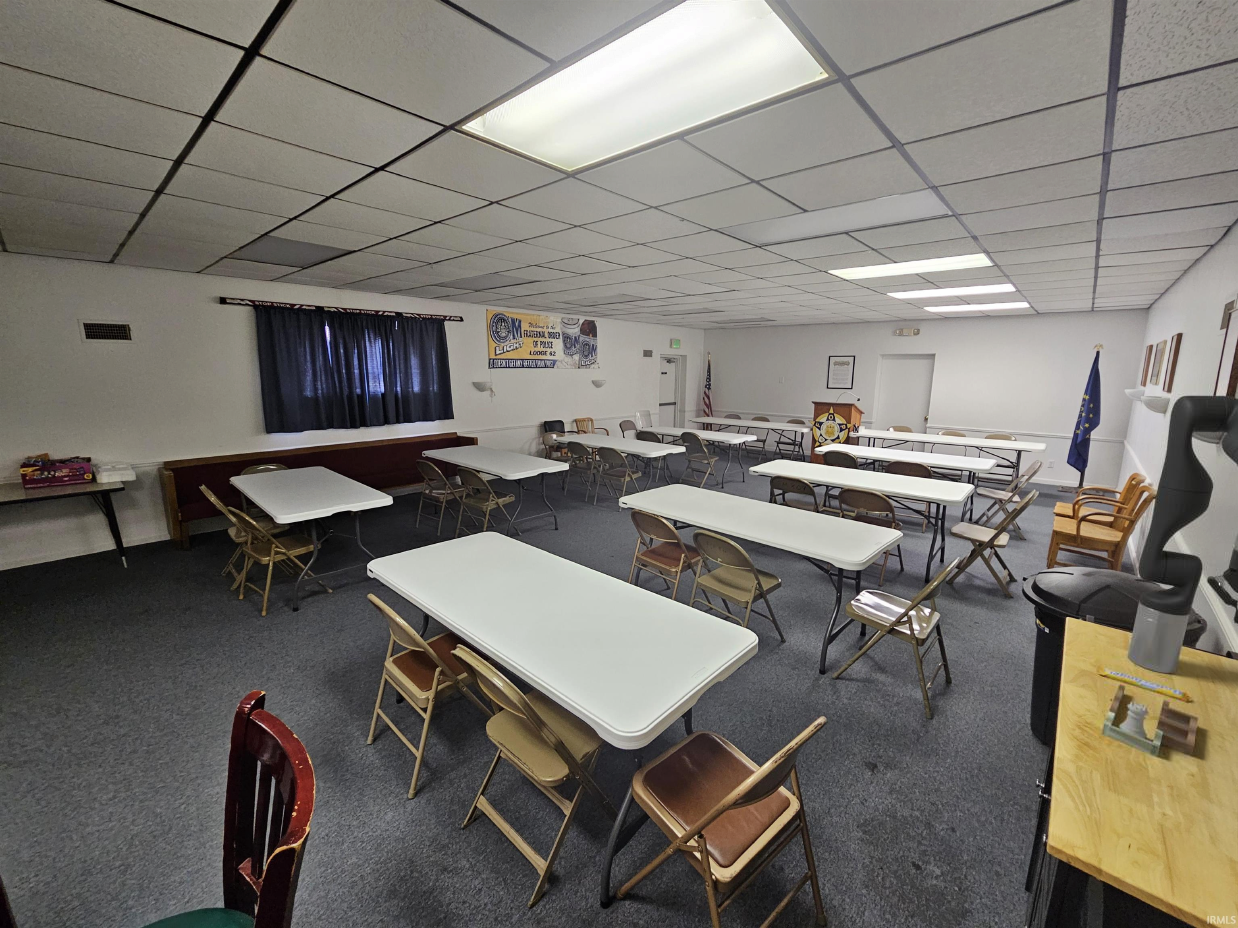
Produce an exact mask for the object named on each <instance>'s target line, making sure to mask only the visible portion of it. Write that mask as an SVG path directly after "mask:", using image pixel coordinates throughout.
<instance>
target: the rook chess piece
mask: <svg viewBox="0 0 1238 928" xmlns="http://www.w3.org/2000/svg"><path fill="white" fill-rule="evenodd" d="M1127 708H1128V709H1129V710H1128V711H1127V717H1126V719H1125V720H1124V721H1123V722H1122V723H1120V724H1119V726H1118V728H1119V729H1121V730H1124V731H1126V732H1129V733H1131V734H1134V735H1136V736H1139V737H1141V738H1144V739H1146V740H1148V739H1147V736H1148V734H1147V733H1146V730H1145V729H1144V728H1145V727H1144V722H1145V720H1146V719H1147V718H1146V716H1147V715H1149V713H1150V712H1149V711H1148V707H1147V706H1145V705H1144V704H1142V703H1140V704H1139V702H1138V701H1137V702H1136V701H1130V703H1128V704H1127Z"/></svg>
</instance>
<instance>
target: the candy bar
mask: <svg viewBox="0 0 1238 928" xmlns="http://www.w3.org/2000/svg"><path fill="white" fill-rule="evenodd" d="M1096 673H1097V674H1098V675H1100V676H1101V675H1102V676H1104V677H1106V678H1108V679H1111V680H1114V681H1116V682H1119V683H1124V684H1127V685H1130V686H1133V687H1136V688H1139V689H1143V690H1147V691H1150V692H1152V693H1156V694H1159V695H1162V696H1164V697H1165V696H1166V697H1168V698H1172V699H1175V700H1178V701H1182V702H1185V703H1186V702H1187V703H1188V702H1190V701H1192V699H1191V697H1190V696H1189V693H1188V691H1181V690H1180V691H1179V690H1177V689H1174V688H1171V687H1167V686H1163V685H1160V684H1158V683H1153V682H1150V681H1147V680H1143V679H1141V678H1137V677H1134V676H1132V675H1128V674H1125V673H1122V672H1119V671H1116V670H1113V669H1112V670H1111V669H1109V668H1103V667H1101V666H1100V665H1097V669H1096Z"/></svg>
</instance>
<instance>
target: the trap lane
mask: <svg viewBox="0 0 1238 928" xmlns="http://www.w3.org/2000/svg"><path fill="white" fill-rule="evenodd" d="M1125 689H1126V686H1125V685H1123V684H1119V685H1118V688H1117V690H1116V693H1115V696H1114V698H1113V700H1112V703H1111V706H1110V708H1109V710H1108V713H1107V715H1106V718H1105V720H1104V723H1103V726H1102V730H1101V735H1104V736H1106V737H1108V738H1111V739H1114V740H1115V741H1118V742H1119V743H1123V744H1126V745H1127V746H1130V747H1132V748H1134V749H1137V750H1140V751H1142V752H1144V753H1147V754H1149V755H1151V756H1153V757H1156V758H1158V755H1159V751H1160V747H1161V745H1163V746H1164V747H1168V748H1170V749H1171V750H1175V751H1177V752H1179V753H1183V754H1185V755H1187V756H1189V757H1192V756H1193V752H1194V748H1195V743H1196V742H1195V740H1196V734H1197V727H1198V720H1199V718H1198V717H1197V716H1195V715H1191V714H1188V713H1185V712H1182V711H1180V710H1177V709H1174V708H1172V707H1170V704H1171V702H1170V701H1168V700H1166V699H1163V701H1162V706H1161V707H1160V709H1161V710H1160V714H1159V717H1158V721H1157V725H1156V730H1155V733H1154V736H1153V741H1151V740H1150V739H1149V740H1148V739H1147V738H1146V739H1147V740H1146V739H1144V738H1141V737H1139V736H1136V735H1134V734H1131V733H1129V732H1126V731H1124V730H1121V729H1119V728H1120V727H1116V726H1115V725H1113V724H1114V721H1115V718H1116V716H1117V713H1118V710H1119V708H1120V706H1121V703H1122V699H1123V697H1124V693H1125Z"/></svg>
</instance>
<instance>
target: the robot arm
mask: <svg viewBox="0 0 1238 928" xmlns="http://www.w3.org/2000/svg"><path fill="white" fill-rule="evenodd" d="M1194 432H1195V433H1196V432H1197V433H1198V432H1199V433H1226V434H1225V435H1224V437H1223V438H1222V441H1221V449H1222V450H1223V452H1224V453H1225V455H1226V456H1227V457H1229V459H1231V460H1232V461H1233V462H1234V463H1235V464H1236V465H1237V467H1238V397H1234V396H1229V395H1183V396H1181V397H1179V398H1178V399H1177V400H1176V401H1175V402H1174V404H1173V406H1172V409H1171V411H1170V418H1169V424H1168V436H1167V445H1166V452H1165V457H1164V462H1163V466H1162V470H1161V474H1160V478H1159V482H1158V486H1157V490H1156V495H1155V500H1154V504H1153V505H1154V507H1153V512H1152V518H1151V523H1150V527H1149V529H1148V533H1147V537H1146V539H1145V543H1144V545H1143V548H1142V549H1143V550H1142V553H1141V555H1140V559H1139V563H1138V575H1139V577H1140V579H1142V580H1143V581H1146V582H1149V583H1150V582H1151V583H1156V584H1160V585H1166V586H1171V587H1170V588H1166V589H1161V590H1160V589H1159V590H1158V589H1157V590H1146V591H1143V592H1142V593H1141V594H1140V596H1139V601H1138V606H1137V610H1136V615H1135V620H1134V624H1133V630H1132V634H1131V638H1130V641H1129V642H1130V643H1129V647H1128V653H1127V659H1129V661H1131V662H1132V663H1134V664H1135V665H1137V666H1140V667H1142V668H1145V669H1147V670H1149V671H1150V670H1151V671H1154V672H1158V673H1162V674H1163V673H1164V674H1173V673H1174V674H1175V673H1176V671H1177V668H1178V664H1179V660H1180V655H1181V651H1182V646H1183V644H1184V643H1183V642H1184V639H1185V634H1186V630H1187V627H1188V621H1189V617H1190V614H1191V610H1192V608H1193V607H1192V606H1193V604H1194V600H1195V599H1194V598H1195V597H1196V593H1197V589H1198V587H1199V584H1200V581H1201V577H1202V574H1203V562H1202V560H1201V558H1200V557H1199V556H1197V555H1194V554H1189V553H1185V552H1178V551H1177V552H1176V551H1170V550H1166V549H1165V550H1164V548H1165V546H1166V545H1167V544H1168V542H1169V540H1170V539H1172V537H1173V536H1174V535H1175V534H1176V533H1178V532H1179V531H1180V530H1182V529H1184V528H1185V527H1187V526H1188V525H1189V524H1192V522H1194V521H1195V520H1197V519H1198V518H1200V517H1201V516H1202V515H1204V513H1205V512H1206V511H1207V510H1208V508H1209V506H1210V502H1211V497H1212V494H1213V490H1214V482H1213V479H1212V478H1211V476H1210V474H1209V473H1208V471H1207V470H1206V468H1205V467H1204V466H1203V464H1202V463H1201V461H1200V460H1199V458H1198V457H1197V456H1196V454H1195V451H1194V448H1193V435H1194ZM1231 552H1232V553H1231V558H1230V559H1229V564H1228V568H1227V569H1226V570H1224V571H1223V574H1221V575H1217V576H1212V575H1211V576H1210V575H1209V576H1208V577H1207V580H1206V582H1207V584H1208V585H1209V586H1210V587H1211V589H1212V590H1213V591H1214V593H1216V595H1217V596H1219V599H1221V601H1223V602H1224V604H1225V605H1227V606H1230V607H1233V608H1234V609H1235V613H1234V617H1233V622H1234V624H1236V625H1238V599H1235V598H1234V597H1233V596H1231V594H1230V593H1229V592H1228V591H1227V590H1226V588H1225V585H1226V584H1225V582H1227V584H1228V585H1229V586H1230V587H1231V588H1232V590H1233V591H1234V592H1235V593H1237V594H1238V533H1237V535H1236V537H1235V541H1234V543H1233V548H1232V551H1231Z"/></svg>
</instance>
